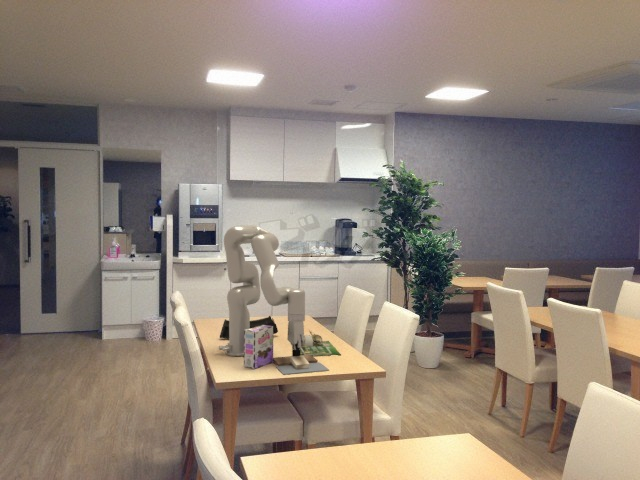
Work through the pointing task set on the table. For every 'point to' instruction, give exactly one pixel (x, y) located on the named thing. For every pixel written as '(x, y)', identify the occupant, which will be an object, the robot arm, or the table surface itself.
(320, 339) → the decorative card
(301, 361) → the birch tile
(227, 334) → the magazine
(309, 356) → the walnut deck
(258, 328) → the candy box
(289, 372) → the slate mat
